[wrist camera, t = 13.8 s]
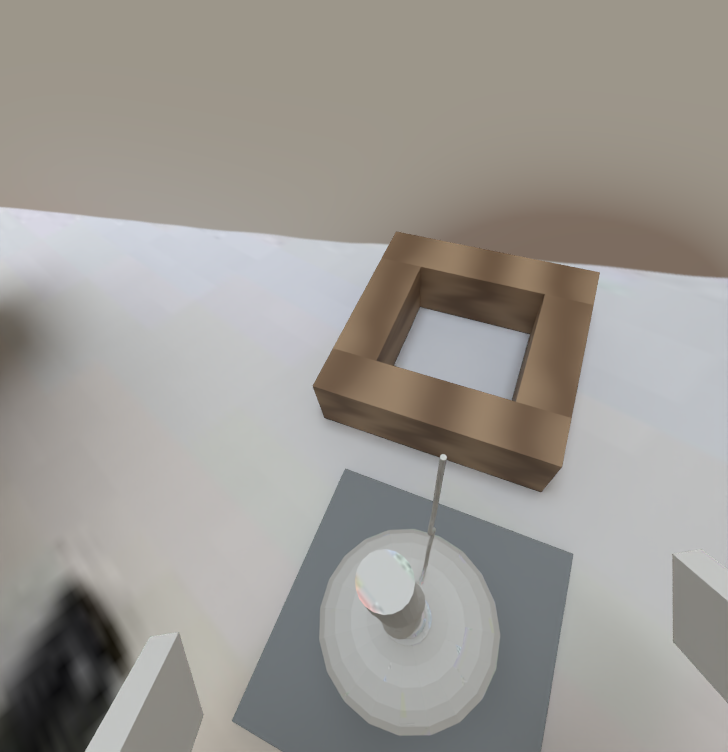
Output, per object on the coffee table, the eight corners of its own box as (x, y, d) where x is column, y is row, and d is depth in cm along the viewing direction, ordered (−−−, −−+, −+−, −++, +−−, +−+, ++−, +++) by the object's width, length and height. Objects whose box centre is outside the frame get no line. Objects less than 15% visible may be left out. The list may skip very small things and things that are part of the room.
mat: (235, 719, 25) (231, 721, 25) (346, 471, 33) (345, 468, 32) (514, 886, 21) (517, 892, 20) (570, 555, 28) (573, 554, 28)
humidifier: (317, 671, 26) (-115, 769, 5) (376, 538, 29) (286, 255, 8) (449, 752, 23) (826, 1766, 2) (496, 596, 27) (804, 403, 6)
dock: (324, 417, 35) (312, 386, 31) (397, 272, 43) (396, 231, 39) (541, 492, 31) (561, 466, 26) (579, 313, 38) (599, 272, 34)
